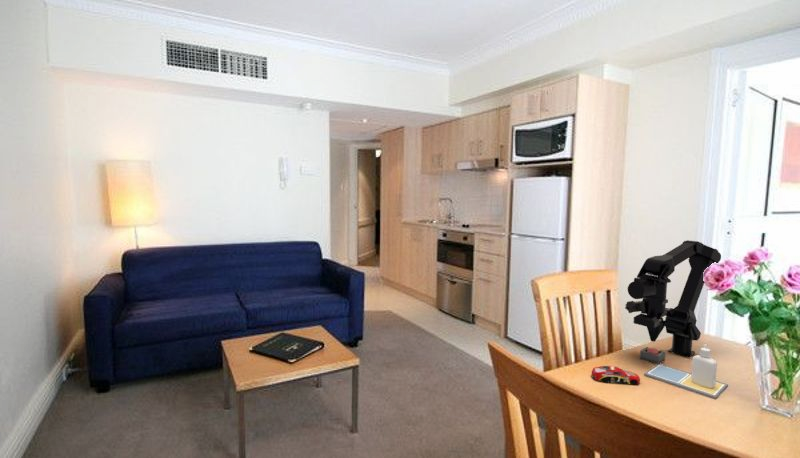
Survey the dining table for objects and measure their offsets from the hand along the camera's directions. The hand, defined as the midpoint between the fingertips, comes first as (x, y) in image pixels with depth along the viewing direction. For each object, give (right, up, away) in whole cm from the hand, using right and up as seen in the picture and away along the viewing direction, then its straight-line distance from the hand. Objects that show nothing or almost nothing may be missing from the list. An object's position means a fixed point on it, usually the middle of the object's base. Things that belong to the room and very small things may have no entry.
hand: (652, 341), depth 134 cm
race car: (-20, -8, -14) cm, 26 cm away
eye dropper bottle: (+3, -8, -18) cm, 20 cm away
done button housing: (0, -7, +1) cm, 7 cm away
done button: (0, -5, +1) cm, 5 cm away
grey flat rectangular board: (0, -8, -14) cm, 16 cm away
